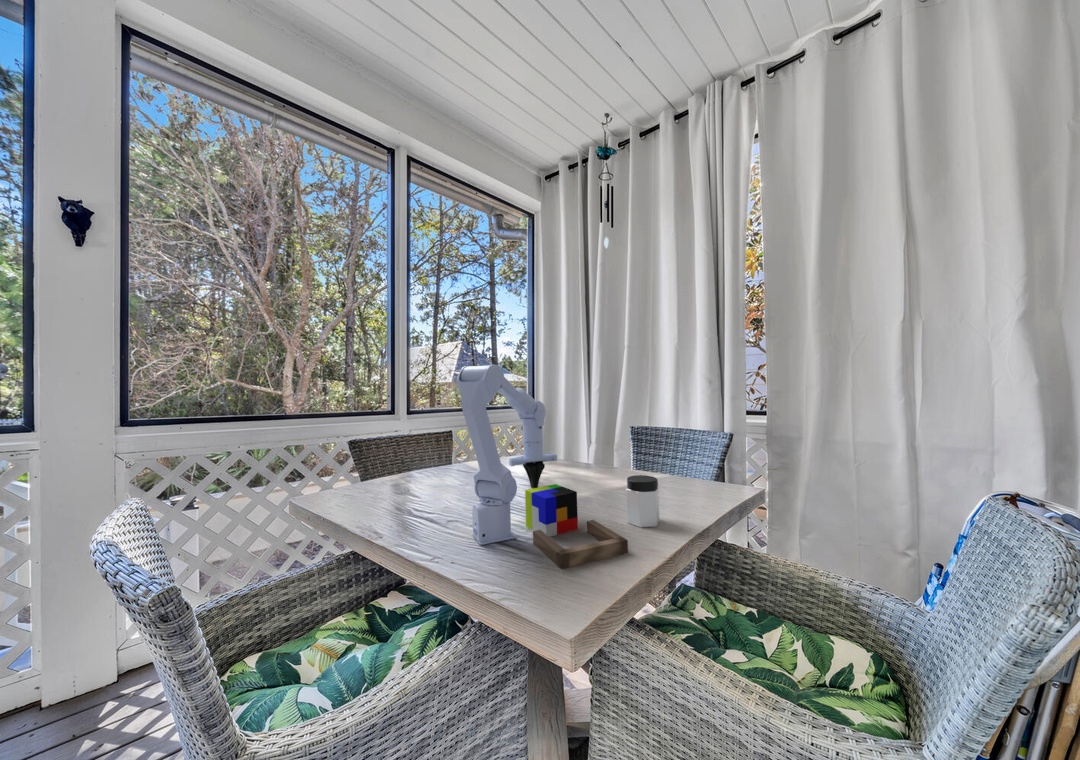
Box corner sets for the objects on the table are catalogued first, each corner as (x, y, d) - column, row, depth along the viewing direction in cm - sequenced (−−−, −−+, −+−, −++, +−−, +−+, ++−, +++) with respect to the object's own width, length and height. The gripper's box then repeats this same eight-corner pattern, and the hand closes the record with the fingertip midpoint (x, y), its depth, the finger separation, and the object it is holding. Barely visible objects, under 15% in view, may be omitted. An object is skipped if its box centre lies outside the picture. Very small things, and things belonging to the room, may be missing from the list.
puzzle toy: (546, 538, 103) (545, 498, 103) (526, 526, 112) (525, 490, 112) (577, 529, 109) (576, 491, 109) (556, 519, 117) (555, 484, 117)
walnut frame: (560, 568, 86) (560, 554, 86) (533, 543, 100) (532, 531, 100) (628, 553, 93) (627, 539, 93) (593, 531, 107) (593, 519, 107)
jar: (666, 523, 111) (665, 479, 111) (646, 530, 106) (645, 484, 106) (640, 514, 118) (639, 473, 118) (620, 521, 114) (619, 477, 114)
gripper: (549, 437, 127) (550, 481, 127) (505, 441, 121) (506, 487, 121) (559, 440, 121) (561, 486, 121) (513, 445, 115) (514, 493, 115)
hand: (534, 487), depth 121 cm, fingers closed
